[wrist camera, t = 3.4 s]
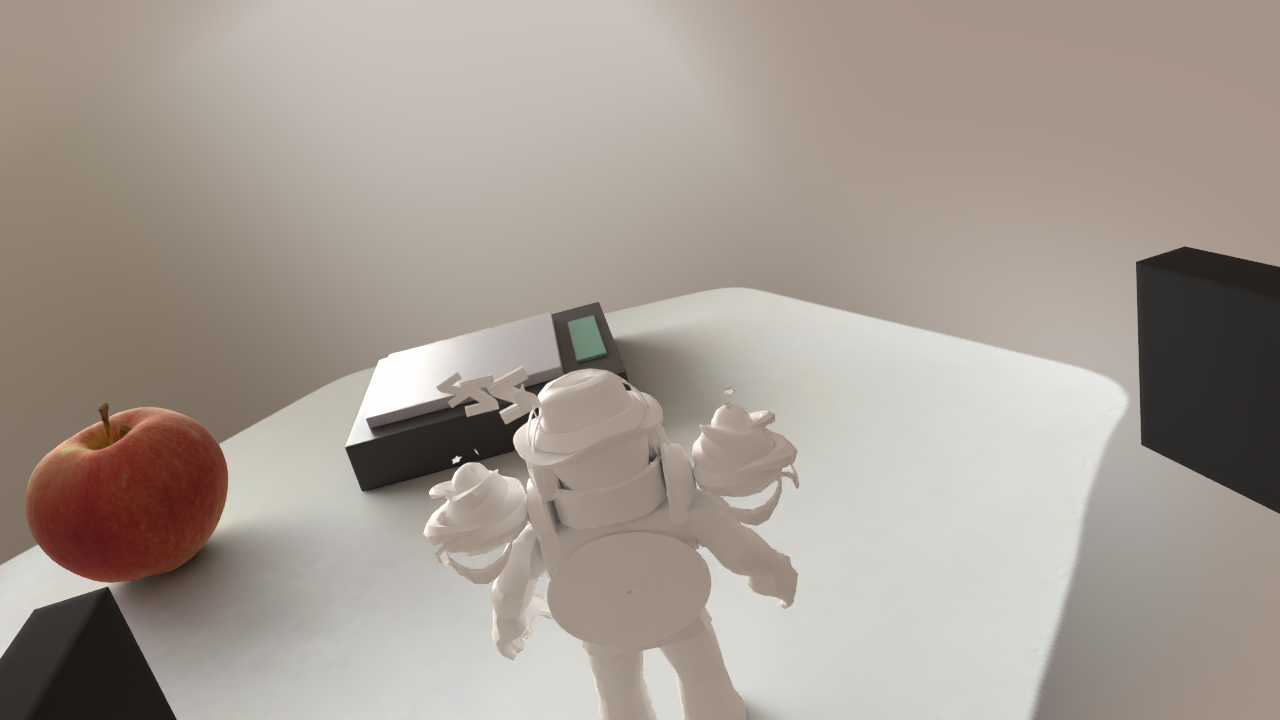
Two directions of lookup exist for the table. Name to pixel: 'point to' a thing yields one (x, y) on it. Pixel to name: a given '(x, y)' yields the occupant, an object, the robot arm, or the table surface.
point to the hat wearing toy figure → (617, 530)
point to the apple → (128, 495)
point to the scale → (436, 433)
